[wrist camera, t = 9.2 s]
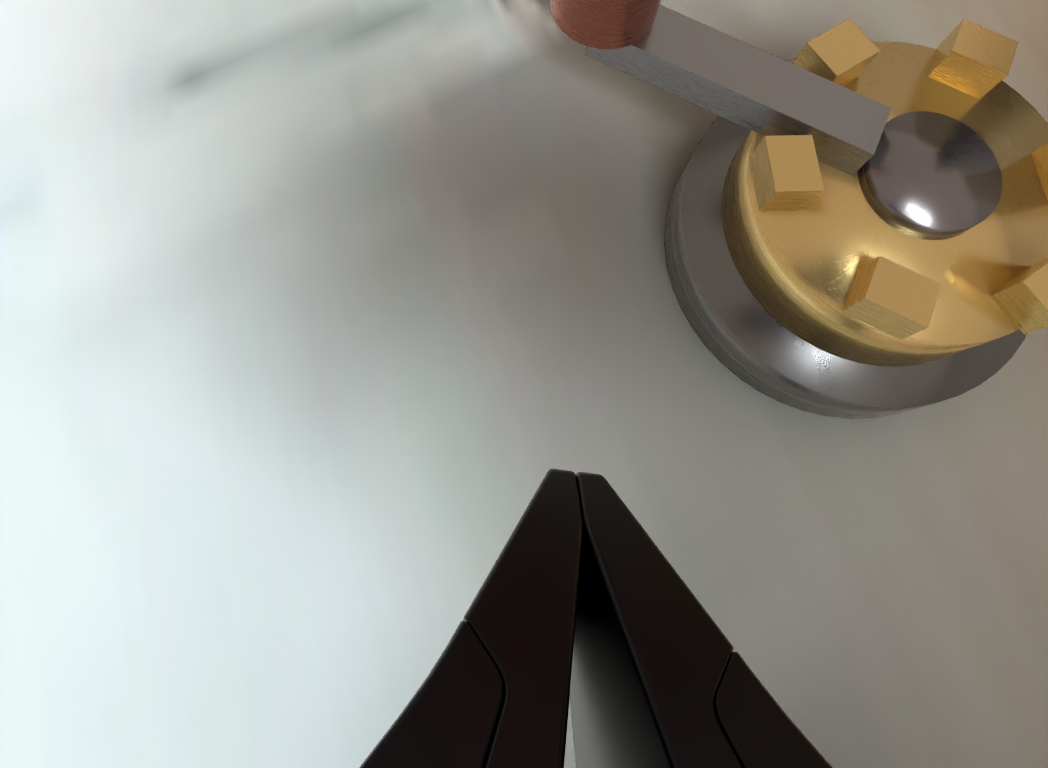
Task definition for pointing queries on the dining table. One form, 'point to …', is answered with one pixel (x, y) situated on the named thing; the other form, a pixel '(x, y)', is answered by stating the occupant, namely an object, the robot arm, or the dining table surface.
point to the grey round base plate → (767, 346)
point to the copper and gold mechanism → (862, 177)
